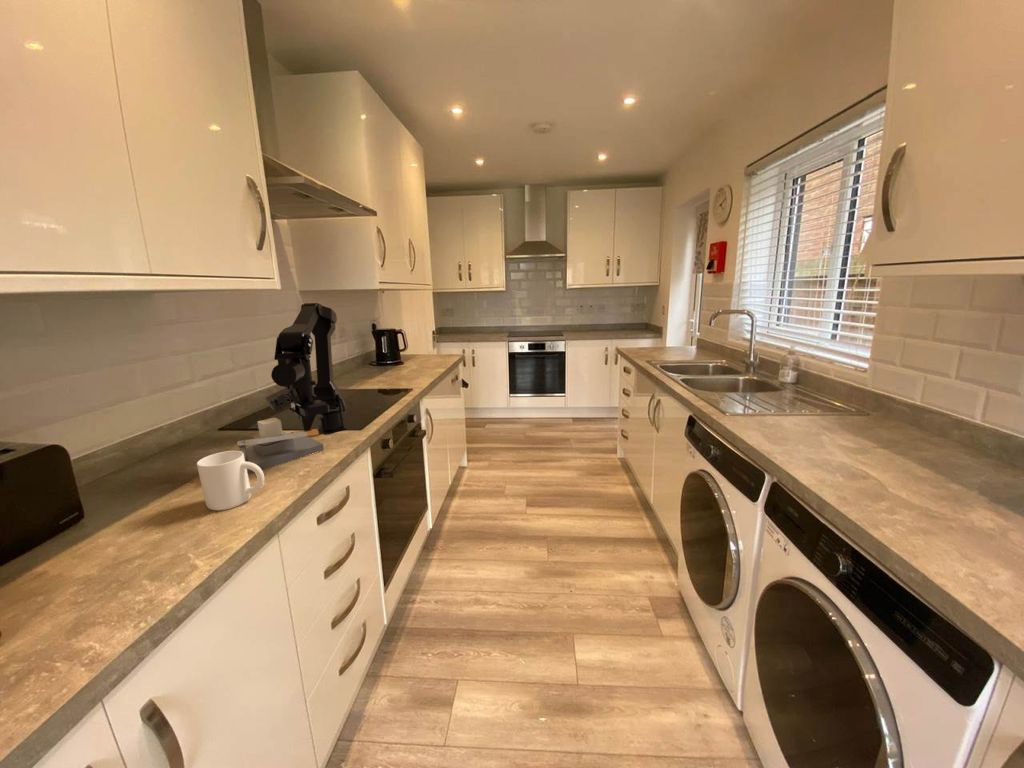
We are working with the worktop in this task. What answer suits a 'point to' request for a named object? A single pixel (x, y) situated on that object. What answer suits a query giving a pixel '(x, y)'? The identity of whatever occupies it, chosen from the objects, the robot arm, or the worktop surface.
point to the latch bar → (277, 438)
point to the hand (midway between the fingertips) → (307, 432)
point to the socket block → (280, 451)
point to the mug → (227, 479)
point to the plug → (269, 429)
